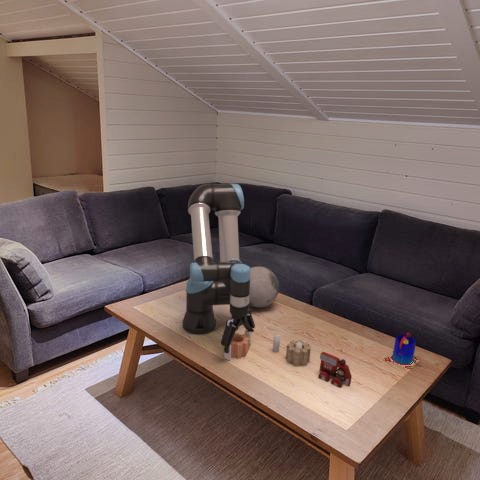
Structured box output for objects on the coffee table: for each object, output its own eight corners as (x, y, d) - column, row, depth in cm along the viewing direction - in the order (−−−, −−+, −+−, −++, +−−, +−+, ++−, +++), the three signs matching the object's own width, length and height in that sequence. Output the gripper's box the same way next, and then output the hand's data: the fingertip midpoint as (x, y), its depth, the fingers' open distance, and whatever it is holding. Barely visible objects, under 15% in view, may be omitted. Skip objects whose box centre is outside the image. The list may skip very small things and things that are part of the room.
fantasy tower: (410, 372, 169) (415, 345, 165) (381, 360, 177) (385, 333, 173) (422, 360, 177) (427, 334, 174) (394, 349, 185) (398, 323, 181)
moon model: (252, 318, 206) (254, 279, 200) (229, 302, 222) (230, 264, 216) (286, 309, 216) (288, 271, 210) (262, 293, 232) (264, 258, 226)
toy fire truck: (344, 394, 155) (347, 368, 152) (313, 379, 163) (316, 355, 159) (353, 384, 160) (356, 360, 157) (323, 371, 168) (325, 347, 165)
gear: (284, 364, 169) (285, 350, 167) (287, 351, 177) (289, 338, 175) (308, 368, 167) (309, 354, 165) (310, 355, 175) (311, 342, 173)
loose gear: (221, 353, 177) (222, 339, 175) (235, 343, 184) (236, 331, 182) (239, 361, 172) (240, 347, 170) (253, 351, 179) (253, 338, 177)
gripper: (227, 318, 160) (225, 369, 167) (265, 296, 179) (262, 342, 185) (211, 311, 164) (210, 361, 171) (250, 291, 183) (248, 336, 190)
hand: (237, 352), depth 178 cm, fingers open, 12 cm apart
